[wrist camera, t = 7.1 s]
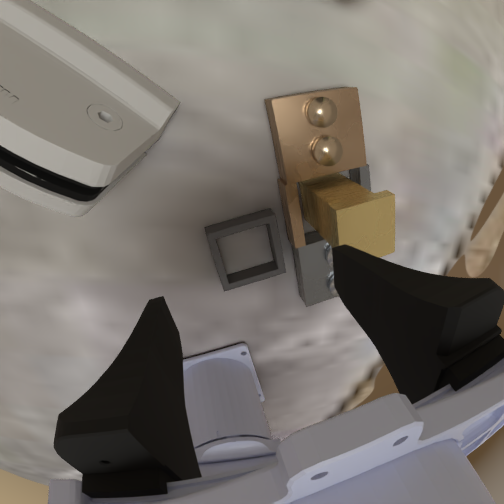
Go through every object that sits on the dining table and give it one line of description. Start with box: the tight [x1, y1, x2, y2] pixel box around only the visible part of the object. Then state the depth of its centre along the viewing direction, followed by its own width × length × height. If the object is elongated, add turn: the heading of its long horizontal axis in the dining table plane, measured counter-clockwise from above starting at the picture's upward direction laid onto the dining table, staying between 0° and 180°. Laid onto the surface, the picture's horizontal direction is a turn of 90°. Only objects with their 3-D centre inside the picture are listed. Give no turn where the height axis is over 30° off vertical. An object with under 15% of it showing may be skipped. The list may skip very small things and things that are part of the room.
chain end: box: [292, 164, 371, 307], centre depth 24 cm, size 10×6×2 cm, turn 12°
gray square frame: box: [205, 209, 286, 291], centre depth 23 cm, size 5×5×1 cm
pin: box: [299, 172, 395, 257], centre depth 20 cm, size 4×4×7 cm
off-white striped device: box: [0, 0, 180, 217], centre depth 12 cm, size 17×5×10 cm, turn 48°
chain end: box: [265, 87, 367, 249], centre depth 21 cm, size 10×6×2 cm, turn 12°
